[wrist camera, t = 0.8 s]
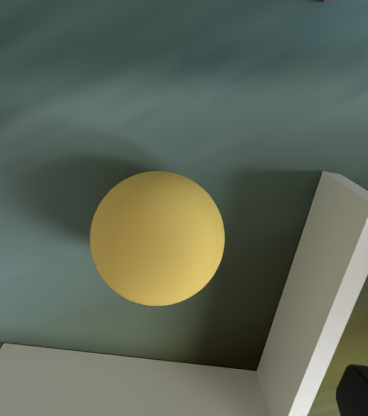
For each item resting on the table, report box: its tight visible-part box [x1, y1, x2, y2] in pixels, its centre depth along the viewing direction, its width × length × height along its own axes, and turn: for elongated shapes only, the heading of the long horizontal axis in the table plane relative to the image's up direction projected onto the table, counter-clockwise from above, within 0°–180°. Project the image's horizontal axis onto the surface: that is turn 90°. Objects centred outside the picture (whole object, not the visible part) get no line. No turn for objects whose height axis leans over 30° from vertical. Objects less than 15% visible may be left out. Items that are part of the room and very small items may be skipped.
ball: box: [90, 171, 225, 306], centre depth 13 cm, size 5×5×5 cm
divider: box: [0, 171, 368, 416], centre depth 14 cm, size 14×12×4 cm
